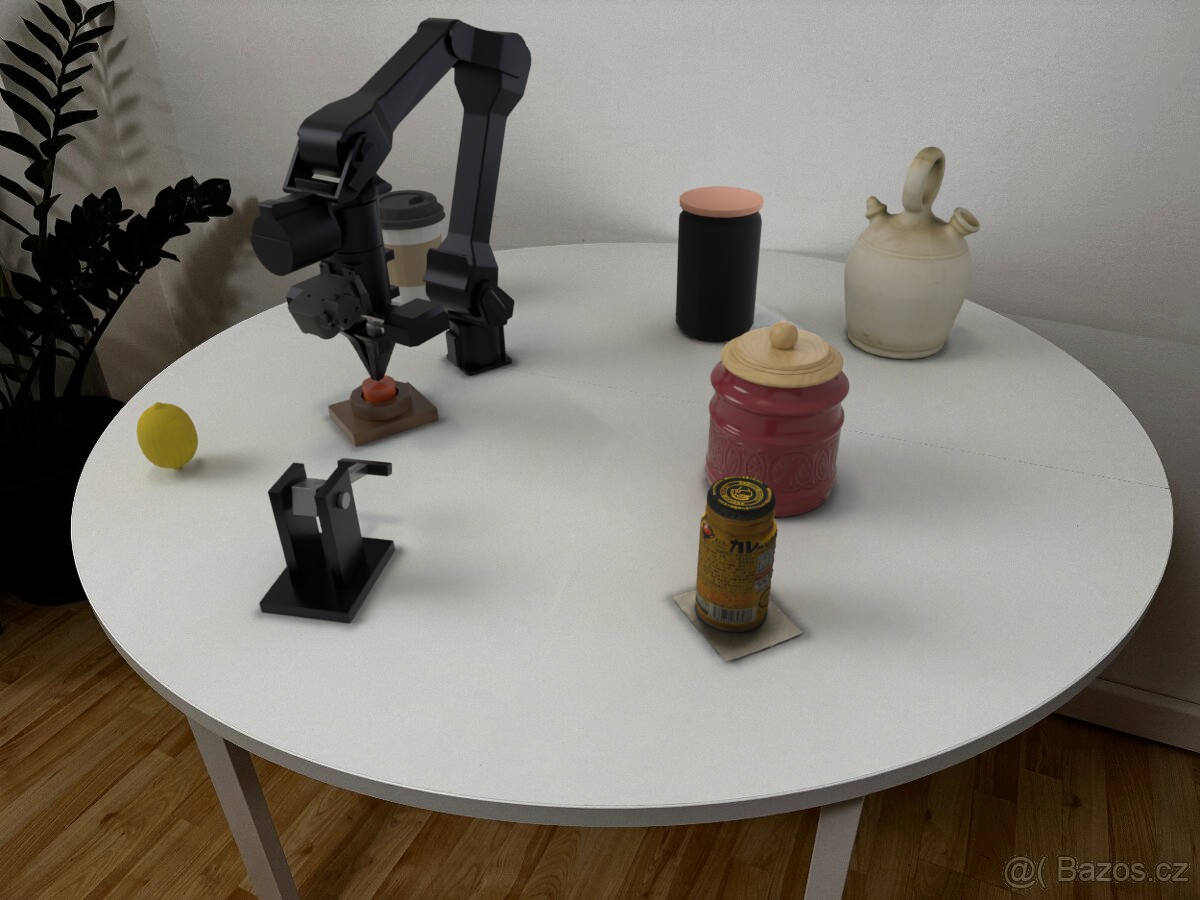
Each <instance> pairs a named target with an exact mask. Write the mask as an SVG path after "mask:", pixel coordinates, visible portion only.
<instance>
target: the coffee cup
mask: <svg viewBox="0 0 1200 900" xmlns="http://www.w3.org/2000/svg"><path fill="white" fill-rule="evenodd" d="M377 199H378V206H379V213H380V219H381V226H382V233H383V240H384V246H385V248H389V249H393V250H394V256H395V259H393V260H391V261H389V262H387V267H388V273H389V280H390V285H394V286H398V287H399V291H400V296H398V297H396V298H394V299H392V301H393V302H397V303H401V304H406V303H408V302H409V301H411V300H413V299H415V298H419V299H423V300H427V301H430V299H429V297H427V296H426V291H425V285H426V282H423V277H424V275H425V271H426V264H427V253H428V250H429V249H430V248H435V249H438V247H439V246H440V245H441V243H442V238H443V237H442V235H443V233H442V231H443V229H442V228H443V226H442V225H443V220H444V219H445V218H446V213H445V207H444V206H443V204H441V203H440V202H438V199H437V196H436V195H435V194H434V193H432V192H429V191H425V190H420V189H415V190H414V189H403V190H394V191H392V190H391V191H390V192H387V193H384V194H382V195H379V196H377Z"/></svg>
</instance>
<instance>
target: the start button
mask: <svg viewBox="0 0 1200 900" xmlns="http://www.w3.org/2000/svg"><path fill="white" fill-rule="evenodd" d="M394 380H395V379H394V378H393V377H392V376H390V375H387V374H385V376H384V378H383V379H381V380H380V381H375V380H372V379H371V377H370V376H369V377H367V378H365V379H364V380H363V381H362V382H361V385H362V388H363V394H364V399H365V400H366V401H369V402H384V401H387V400H390V399H392V398H394V397H395V396H396V387H395V381H396V380H395V381H394Z"/></svg>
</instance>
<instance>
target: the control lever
mask: <svg viewBox="0 0 1200 900" xmlns="http://www.w3.org/2000/svg"><path fill="white" fill-rule="evenodd" d="M336 462H337V467H345V468H348V470H349V475H350V480H351V485H352V484H353V483H355V482H357V481H359V480H360V479H362V478H364V477H365V476H369V475H370V476H378V477H379V476H380V477H390V475H392V474H393V463H392V462H388V461H378V460H367V459H357V458H347V457H342V458H340V459H337V461H336ZM326 481H327V479H323V478H311V477H307V479H306V480H304V481H302V482H300V483H298V484H296V485H294V486H292V507H293V514H294V515H303V516H312V517H316V518H319V516H318V512H317V508H316V503H315V499H314V496H315V494H316V493H317V492H318V491H319V489H320V488H321V487H322V486H323V484H324V483H325V482H326Z"/></svg>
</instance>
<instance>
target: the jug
mask: <svg viewBox="0 0 1200 900" xmlns="http://www.w3.org/2000/svg"><path fill="white" fill-rule="evenodd" d="M945 171H946V156H945V153H944V151H943V150H941V149H940V148H939V147H937V146H927V147H924V148H922V149H921V150H920V151H918V152H917V153H916V155H915V157H914V158H913V159H912V161H911V163H910V166H909V168H908V169H907V173H906V176H905V179H904V183H903V188H902V193H901V204H902V206H903V209H904V210H903V211H901V212H900V213H890V212H889V211H888V205H887V204H885V203H883V202H881V201H880V200H879V199H878V197H876V196H874V195H871V196H869V197H868V198H867V199H866V202H865V204H866V212H865V214H864V217H865V218H866V219H867V220H868V221H869V224H868V226H867V227H866V228H865V229H864V230H863V232H861V234H860V235H859V236H858V238H857V239H856V240H855V242H854V243H853V245H852V247H851V248H850V251H849V253H848V257H847V258H846V262H845V265H844V269H843V270H844V272H843V288H844V293H843V294H844V307H845V309H844V310H845V311H844V312H845V322H846V328H847V338H848V340H849V341H850V343H851V344H853V346H855V347H856V348H857V349H859V350H861V351H863V352H865V353H868V354H870V355H874V356H879V357H884V358H888V359H896V360H915V359H923V358H928V357H931V356H934V355H935V354H937V353H938V352H940V351H941V350H942V348H943V347H944V345H945V344H944V343H945V342H946V341H947V338H948V336H949V335H950V333H951V330H952V327H953V325H954V323H955V321H956V319H957V317H958V315H959V314H960V311H961V309H962V307H963V305H964V302H965V299H966V297H967V294H968V291H969V288H970V284H971V281H972V275H973V259H972V254H971V251H970V247H969V245H968V243H967V240H966V239H965V237H967V236H969V235H971V234H975V233H978V232H979V231H980V230H981V224H980V221H979V220H978V218H977V217H976V216H975V215H974V214H973V213H972V212H971V211H970V210H968V209H967V208H965V207H955V209H954V210H953V214H952V216H951V217H950V219H949V221H948V222H947V221H946V220H944V219H943V218H941V217H938V216H937V215H935V214H934V212H933V209H932V206H933V204H934V202H935V200H936V199H937V198H938V197H937V196H938V195H939V193H940V189H941V187H942V183H943V180H944V176H945Z"/></svg>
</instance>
